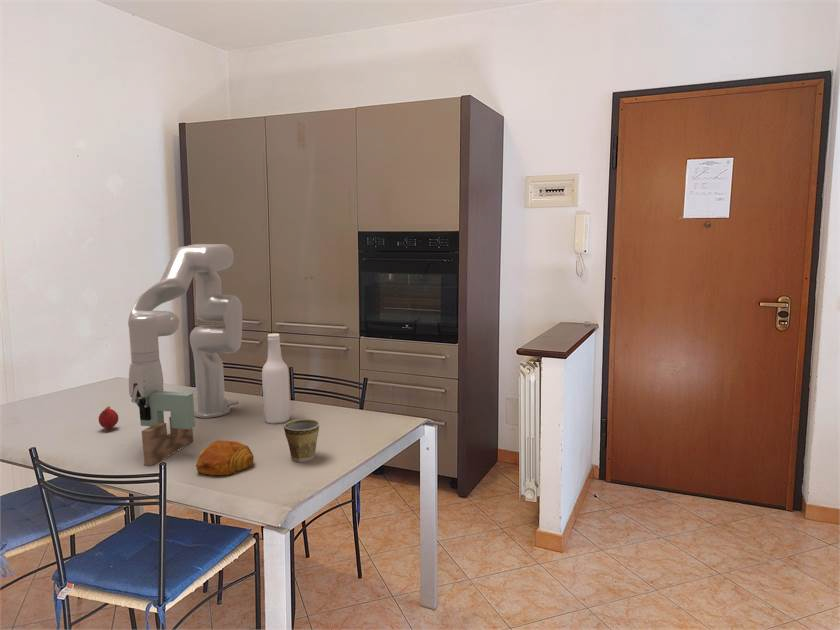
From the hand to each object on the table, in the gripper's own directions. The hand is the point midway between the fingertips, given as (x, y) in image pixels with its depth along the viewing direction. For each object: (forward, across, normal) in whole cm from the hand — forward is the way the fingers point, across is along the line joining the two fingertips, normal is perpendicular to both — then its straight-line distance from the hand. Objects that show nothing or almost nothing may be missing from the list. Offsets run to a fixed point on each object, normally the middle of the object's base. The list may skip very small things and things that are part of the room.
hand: (149, 417), depth 183 cm
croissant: (+11, +6, +27) cm, 30 cm away
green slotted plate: (+2, 0, +6) cm, 6 cm away
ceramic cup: (+11, -6, +46) cm, 47 cm away
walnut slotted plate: (+11, 0, +6) cm, 12 cm away
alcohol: (+10, -35, +24) cm, 43 cm away
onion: (+11, -14, -27) cm, 32 cm away
